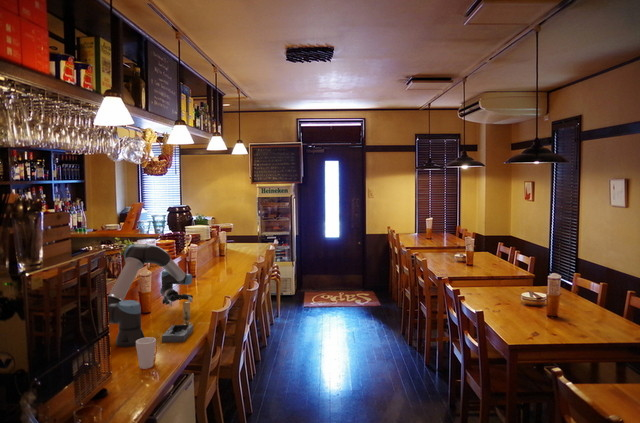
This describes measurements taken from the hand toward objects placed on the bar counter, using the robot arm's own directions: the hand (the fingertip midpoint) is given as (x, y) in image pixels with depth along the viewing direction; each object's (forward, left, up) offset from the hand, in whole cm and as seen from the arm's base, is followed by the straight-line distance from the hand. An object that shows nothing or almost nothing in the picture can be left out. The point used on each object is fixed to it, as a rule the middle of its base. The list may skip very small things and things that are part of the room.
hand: (181, 302), depth 290 cm
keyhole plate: (+25, -16, -13) cm, 32 cm away
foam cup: (+53, -48, -13) cm, 73 cm away
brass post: (+10, -2, -13) cm, 16 cm away
